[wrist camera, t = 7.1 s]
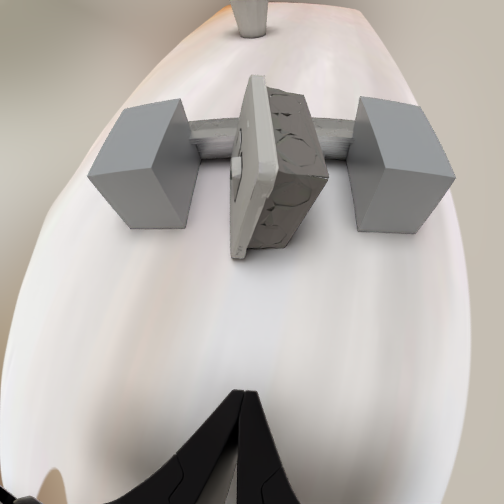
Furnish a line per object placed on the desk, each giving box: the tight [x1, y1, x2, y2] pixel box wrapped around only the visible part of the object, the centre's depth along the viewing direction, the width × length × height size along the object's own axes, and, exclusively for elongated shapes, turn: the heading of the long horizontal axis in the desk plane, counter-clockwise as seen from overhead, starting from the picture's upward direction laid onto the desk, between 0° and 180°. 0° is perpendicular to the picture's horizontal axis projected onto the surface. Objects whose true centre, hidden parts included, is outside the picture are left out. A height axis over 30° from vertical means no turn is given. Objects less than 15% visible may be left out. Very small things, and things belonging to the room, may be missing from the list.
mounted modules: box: [87, 96, 456, 234], centre depth 19 cm, size 7×23×7 cm, turn 86°
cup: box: [230, 0, 268, 38], centre depth 31 cm, size 8×8×15 cm
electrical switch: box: [230, 75, 329, 259], centre depth 17 cm, size 9×5×9 cm, turn 2°
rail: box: [188, 117, 355, 160], centre depth 22 cm, size 2×24×4 cm, turn 86°
